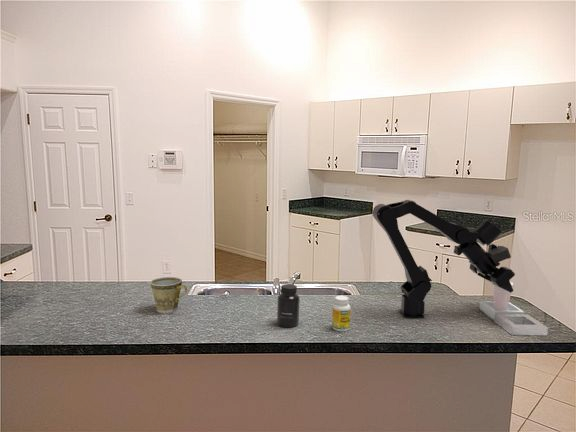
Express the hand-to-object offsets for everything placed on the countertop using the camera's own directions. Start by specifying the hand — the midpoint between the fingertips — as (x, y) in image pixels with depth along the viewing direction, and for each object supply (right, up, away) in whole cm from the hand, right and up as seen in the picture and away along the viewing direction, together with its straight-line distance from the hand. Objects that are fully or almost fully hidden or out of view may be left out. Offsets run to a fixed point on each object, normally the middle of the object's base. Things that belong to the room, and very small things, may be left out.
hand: (506, 288), depth 136 cm
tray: (-1, -9, +1) cm, 9 cm away
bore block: (-1, -10, -10) cm, 14 cm away
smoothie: (-2, -8, +1) cm, 8 cm away
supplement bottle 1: (-72, -10, -9) cm, 73 cm away
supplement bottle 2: (-56, -10, -12) cm, 58 cm away
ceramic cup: (-111, -8, +1) cm, 112 cm away
